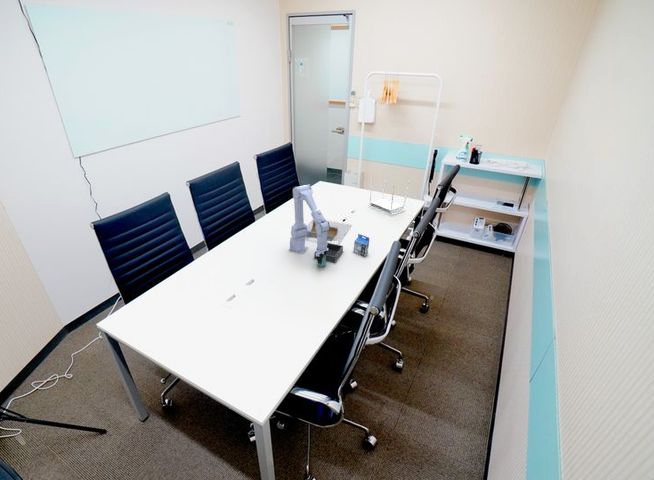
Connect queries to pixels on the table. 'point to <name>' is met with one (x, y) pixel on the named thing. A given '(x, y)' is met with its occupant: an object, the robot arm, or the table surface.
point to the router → (387, 203)
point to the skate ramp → (329, 231)
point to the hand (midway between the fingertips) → (321, 261)
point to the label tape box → (361, 245)
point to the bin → (333, 252)
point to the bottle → (322, 261)
